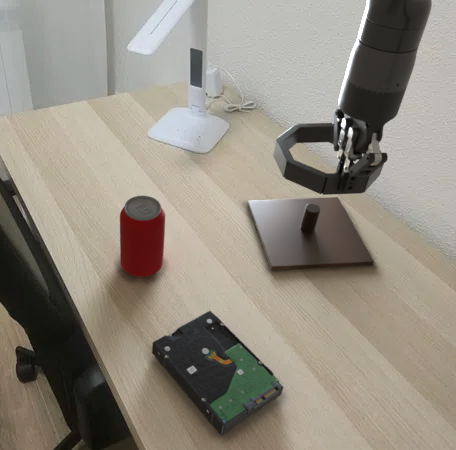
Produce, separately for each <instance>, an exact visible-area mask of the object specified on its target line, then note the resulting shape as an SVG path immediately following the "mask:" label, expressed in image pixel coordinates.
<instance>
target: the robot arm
mask: <svg viewBox="0 0 456 450" xmlns="http://www.w3.org/2000/svg"><path fill="white" fill-rule="evenodd" d="M432 6H433V4H432V0H366V5H365V9H364V13H363V16H362V20H361V23H360V27H359V30H358V35H357V38H356V41H355V43H354V46H353V48H352V49H351V53H350V56H349V59H348V63H347V67H346V71H345V75H344V78H343V81H342V85H341V89H340V93H339V97H338V101H337V104H338V108H335V109H334V111H333V123H334V144H333V151H334V152H337V155H336V161H337V162H338V163H337V165H336V166H337V167H336V169H335V173H342V174H341V178H340V182H339V185H338V188H337V189H338V191H339V193H352V192H353V191H354V189H355V185H356V182H357V179H358V176H369V175H371V174H372V173H373V172H374V171H375V170H377V169H378V168H379V167H380V166H381V165H383V164H385V163H387V161H388V157H389V156H388V152H382V151H381V148H380V144H379V143H380V142H381V141H382V139H383V134H384V133H383V132H384V127H385V125H386V124H388V122H390V121H391V120H394V119H395V118H396V117H397V115H398V114H399V111H400V108H401V105H402V102H403V100H404V96H405V94H406V91H407V88H408V86H409V82H410V79H411V76H412V73H413V71H414V67H415V64H416V59H417V55H418V50H419V47H420V44H421V41H422V38H423V35H424V33H425V29H426V26H427V24H428V21H429V19H430V18H429V17H430V14H431V11H432ZM380 151H381V152H382V153H381V152H380ZM383 166H384V165H383Z"/></svg>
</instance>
